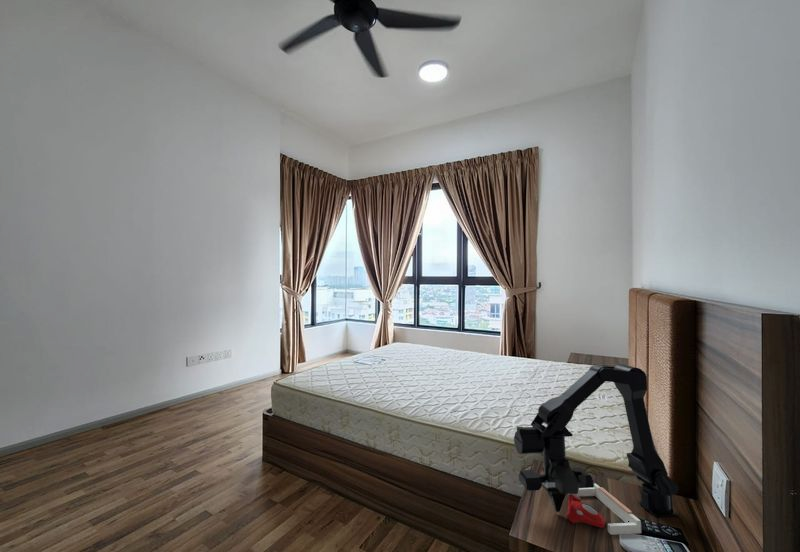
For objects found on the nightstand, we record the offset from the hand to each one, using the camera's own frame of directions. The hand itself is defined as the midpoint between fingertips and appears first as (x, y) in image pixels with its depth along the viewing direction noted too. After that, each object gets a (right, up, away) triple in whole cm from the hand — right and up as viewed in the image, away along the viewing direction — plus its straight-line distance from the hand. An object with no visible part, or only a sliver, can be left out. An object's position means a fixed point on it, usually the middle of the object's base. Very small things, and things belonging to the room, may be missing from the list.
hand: (557, 511), depth 94 cm
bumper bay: (+13, -1, +1) cm, 13 cm away
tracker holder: (+7, -1, -1) cm, 7 cm away
